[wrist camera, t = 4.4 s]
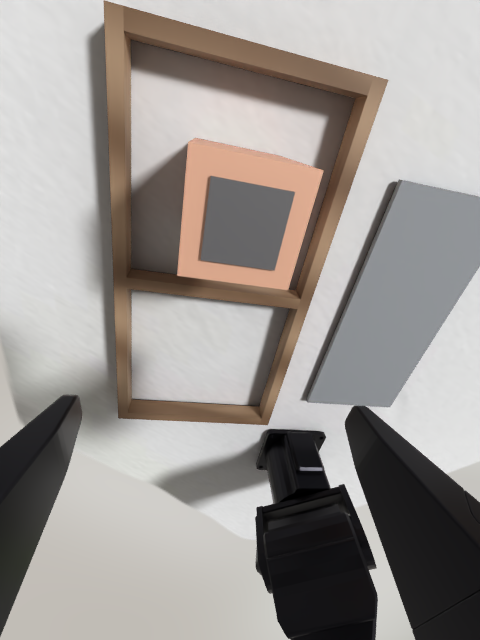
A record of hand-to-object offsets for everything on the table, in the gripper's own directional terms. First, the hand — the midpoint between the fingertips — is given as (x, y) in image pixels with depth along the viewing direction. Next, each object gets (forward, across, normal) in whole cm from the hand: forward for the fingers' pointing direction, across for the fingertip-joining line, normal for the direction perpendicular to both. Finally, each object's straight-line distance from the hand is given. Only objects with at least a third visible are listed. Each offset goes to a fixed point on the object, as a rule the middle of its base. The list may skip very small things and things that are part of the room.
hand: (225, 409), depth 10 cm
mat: (+13, -16, +3) cm, 20 cm away
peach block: (+13, -1, -4) cm, 14 cm away
